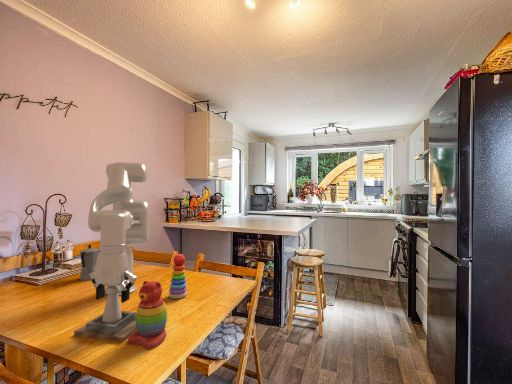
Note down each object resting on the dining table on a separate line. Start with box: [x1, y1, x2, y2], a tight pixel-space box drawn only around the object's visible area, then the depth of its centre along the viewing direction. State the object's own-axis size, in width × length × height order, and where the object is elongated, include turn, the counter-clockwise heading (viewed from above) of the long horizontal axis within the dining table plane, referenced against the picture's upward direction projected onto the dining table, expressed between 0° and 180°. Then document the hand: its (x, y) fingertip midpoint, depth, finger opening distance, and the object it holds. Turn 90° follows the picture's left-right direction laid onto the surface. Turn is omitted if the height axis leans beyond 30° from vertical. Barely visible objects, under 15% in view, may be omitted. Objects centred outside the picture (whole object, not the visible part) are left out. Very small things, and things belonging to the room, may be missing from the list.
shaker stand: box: [73, 310, 137, 343], centre depth 90 cm, size 18×12×4 cm, turn 78°
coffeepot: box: [79, 244, 100, 282], centre depth 144 cm, size 15×9×18 cm, turn 9°
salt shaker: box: [102, 285, 122, 324], centre depth 90 cm, size 6×6×13 cm
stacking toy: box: [168, 253, 188, 300], centre depth 120 cm, size 8×8×19 cm
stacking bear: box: [127, 280, 168, 350], centre depth 85 cm, size 11×10×18 cm
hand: (112, 299), depth 90 cm, fingers open, 9 cm apart
